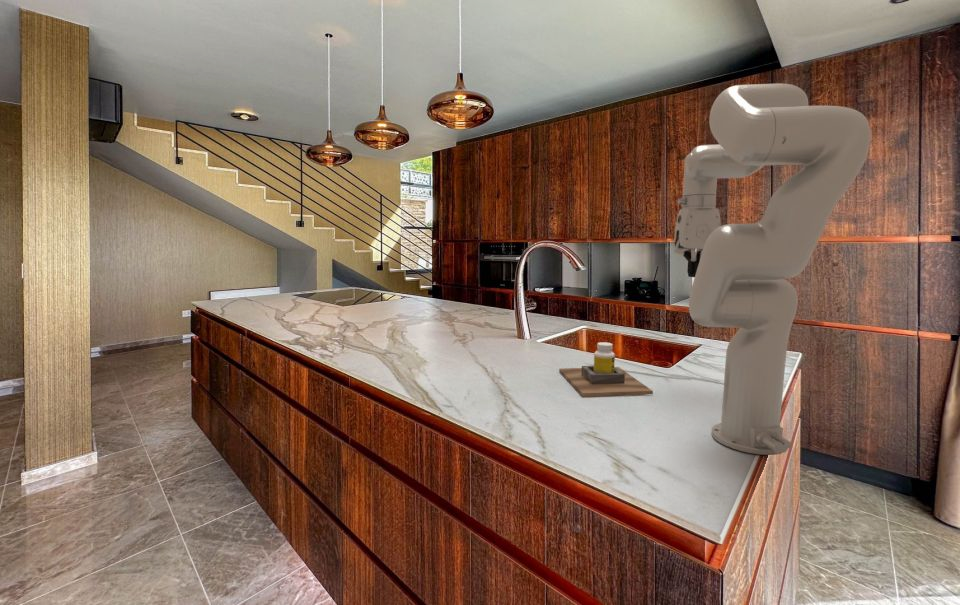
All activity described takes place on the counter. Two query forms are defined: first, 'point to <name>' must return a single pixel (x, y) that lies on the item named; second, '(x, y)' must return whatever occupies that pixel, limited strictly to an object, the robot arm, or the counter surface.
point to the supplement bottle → (604, 358)
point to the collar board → (603, 382)
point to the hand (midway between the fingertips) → (694, 276)
